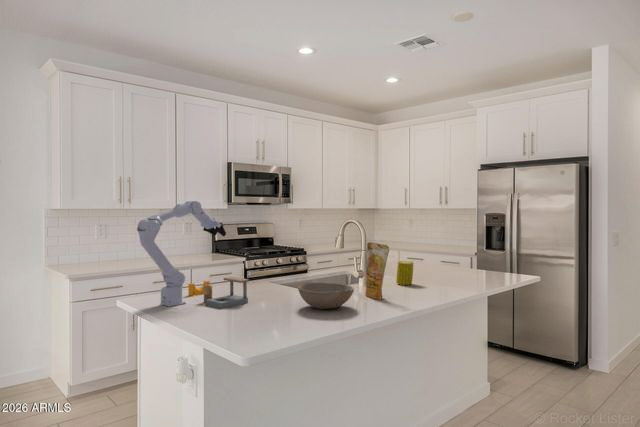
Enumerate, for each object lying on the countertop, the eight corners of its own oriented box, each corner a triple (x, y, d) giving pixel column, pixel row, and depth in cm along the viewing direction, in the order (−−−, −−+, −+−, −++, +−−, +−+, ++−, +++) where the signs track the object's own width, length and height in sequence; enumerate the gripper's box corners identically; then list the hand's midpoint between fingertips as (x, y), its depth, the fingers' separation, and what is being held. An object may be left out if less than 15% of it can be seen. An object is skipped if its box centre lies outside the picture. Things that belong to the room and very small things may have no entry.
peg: (207, 303, 214) (207, 286, 214) (202, 302, 216) (202, 285, 216) (213, 301, 217) (213, 285, 217) (208, 300, 219) (208, 284, 219)
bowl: (321, 299, 222) (321, 279, 222) (365, 306, 205) (365, 285, 205) (285, 308, 202) (285, 287, 202) (330, 317, 185) (330, 294, 185)
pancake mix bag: (372, 293, 238) (372, 241, 237) (390, 300, 220) (390, 244, 219) (361, 294, 235) (361, 242, 235) (378, 301, 217) (378, 245, 217)
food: (403, 285, 271) (415, 288, 263) (389, 282, 266) (400, 285, 257) (409, 261, 272) (420, 263, 263) (394, 257, 266) (405, 260, 258)
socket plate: (222, 308, 201) (222, 283, 201) (205, 304, 210) (205, 280, 210) (248, 302, 214) (248, 279, 214) (231, 299, 222) (231, 276, 222)
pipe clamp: (204, 291, 243) (204, 280, 243) (209, 292, 240) (209, 281, 240) (186, 295, 233) (186, 283, 233) (191, 296, 231) (191, 284, 230)
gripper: (217, 212, 222) (233, 229, 230) (200, 212, 232) (216, 228, 240) (209, 223, 219) (226, 239, 227) (192, 222, 228) (209, 238, 236)
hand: (220, 234), depth 233 cm, fingers open, 7 cm apart
